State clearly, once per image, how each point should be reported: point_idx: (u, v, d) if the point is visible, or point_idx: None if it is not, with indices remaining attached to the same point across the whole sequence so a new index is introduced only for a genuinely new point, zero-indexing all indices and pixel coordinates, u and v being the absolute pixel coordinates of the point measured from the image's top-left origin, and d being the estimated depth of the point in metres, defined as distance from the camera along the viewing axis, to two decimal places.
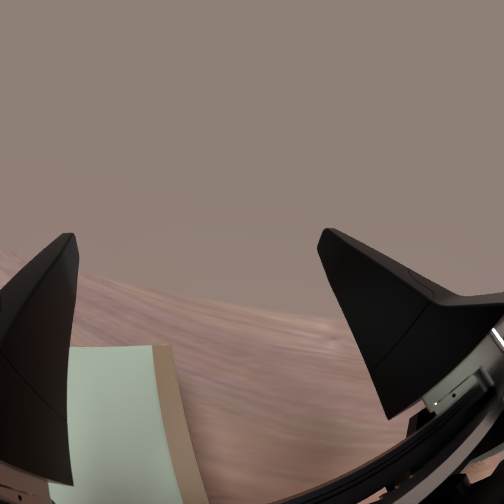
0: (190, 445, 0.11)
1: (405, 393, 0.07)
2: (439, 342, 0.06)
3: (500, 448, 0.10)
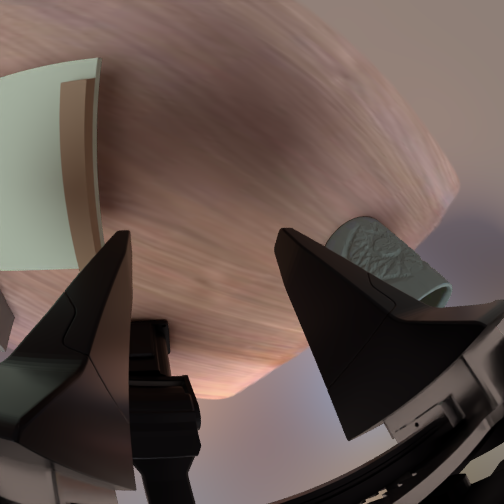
0: (87, 214, 0.11)
1: (363, 415, 0.06)
2: (398, 362, 0.05)
3: None
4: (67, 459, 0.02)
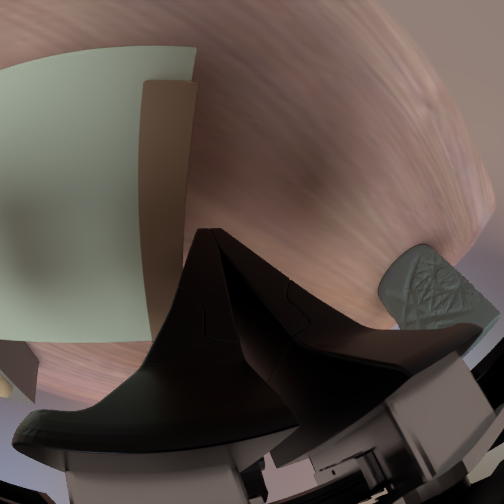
0: None
1: (284, 446, 0.05)
2: (307, 397, 0.04)
3: None
4: None
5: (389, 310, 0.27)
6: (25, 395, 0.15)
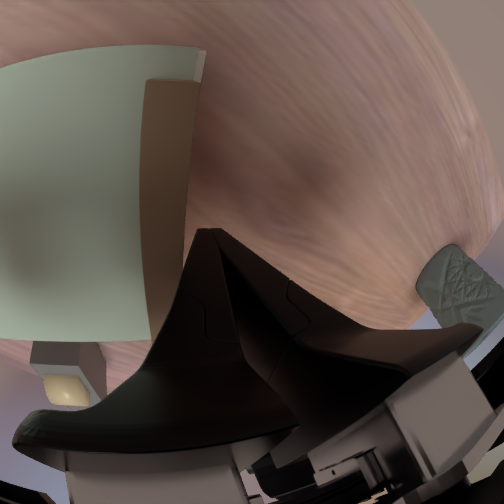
0: None
1: (284, 446, 0.05)
2: (307, 397, 0.04)
3: None
4: None
5: (426, 300, 0.29)
6: None
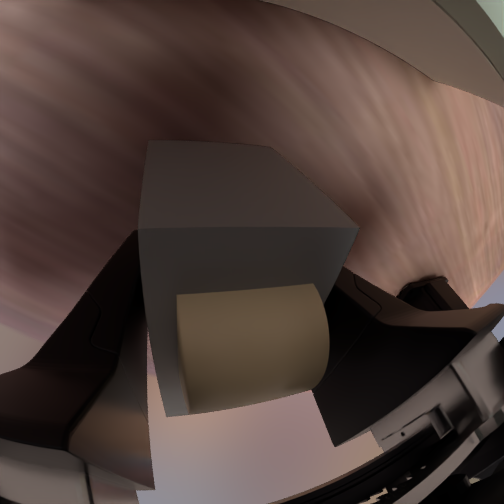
0: None
1: (349, 421, 0.06)
2: (384, 369, 0.05)
3: None
4: (106, 462, 0.02)
5: None
6: None
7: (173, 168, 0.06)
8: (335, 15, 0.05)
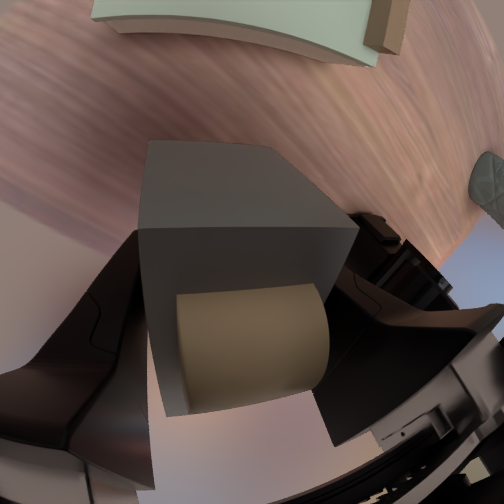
0: (408, 0, 0.07)
1: (349, 421, 0.06)
2: (383, 369, 0.05)
3: (503, 219, 0.25)
4: (106, 461, 0.02)
5: (480, 196, 0.28)
6: None
7: (173, 168, 0.06)
8: (242, 39, 0.13)
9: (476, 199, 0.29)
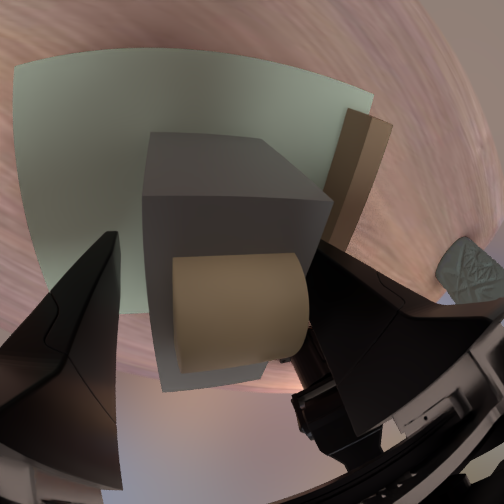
0: None
1: (373, 410, 0.06)
2: (408, 358, 0.05)
3: None
4: (42, 455, 0.02)
5: (445, 284, 0.33)
6: None
7: (172, 154, 0.07)
8: None
9: None
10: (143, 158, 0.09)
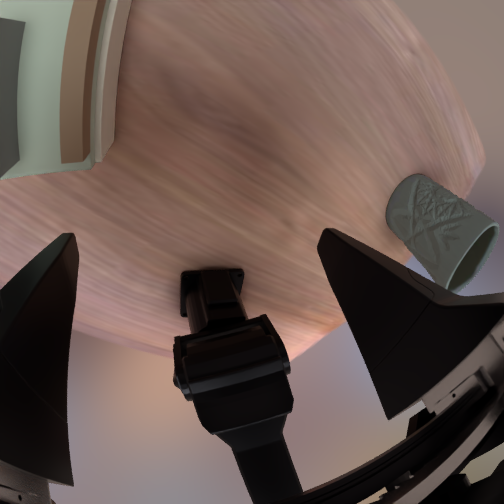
0: (82, 85, 0.08)
1: (405, 393, 0.07)
2: (439, 342, 0.06)
3: (423, 262, 0.26)
4: None
5: (397, 231, 0.29)
6: None
7: None
8: None
9: None
10: None
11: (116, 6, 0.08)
